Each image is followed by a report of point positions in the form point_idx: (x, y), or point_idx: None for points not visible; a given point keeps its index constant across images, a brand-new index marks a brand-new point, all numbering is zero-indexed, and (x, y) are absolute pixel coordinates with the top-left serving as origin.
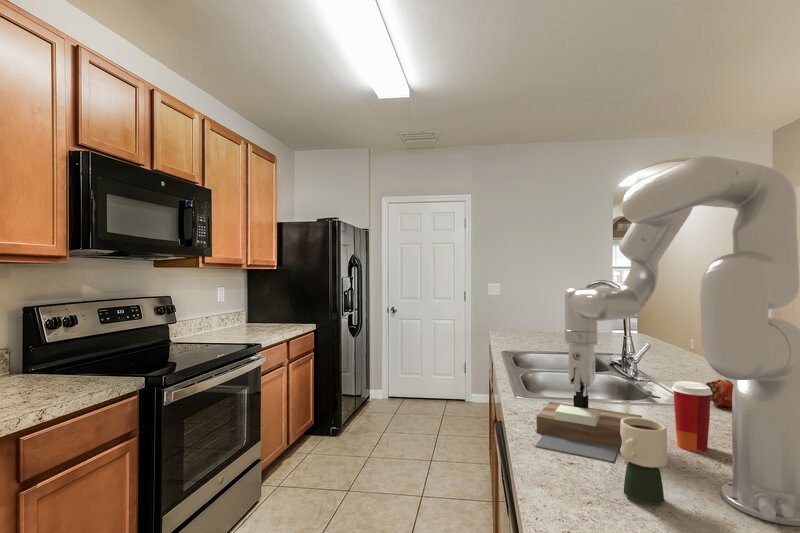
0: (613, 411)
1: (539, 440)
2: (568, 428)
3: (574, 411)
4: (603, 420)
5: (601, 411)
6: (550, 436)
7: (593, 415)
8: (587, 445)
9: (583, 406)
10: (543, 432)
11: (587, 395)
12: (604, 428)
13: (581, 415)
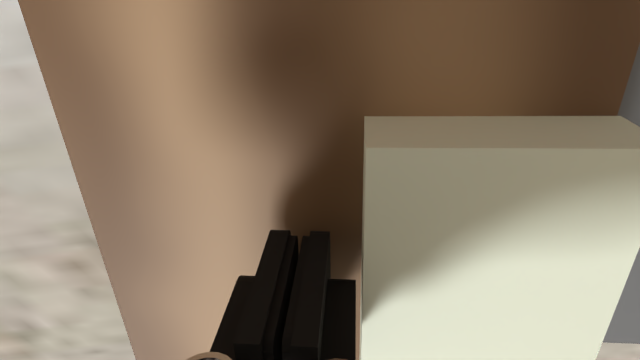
0: (31, 24)
1: (628, 342)
2: None
3: (517, 330)
4: (395, 75)
5: (121, 127)
6: None
7: (595, 178)
8: (635, 118)
9: (348, 292)
10: None
11: (250, 350)
12: (638, 33)
13: (628, 272)
